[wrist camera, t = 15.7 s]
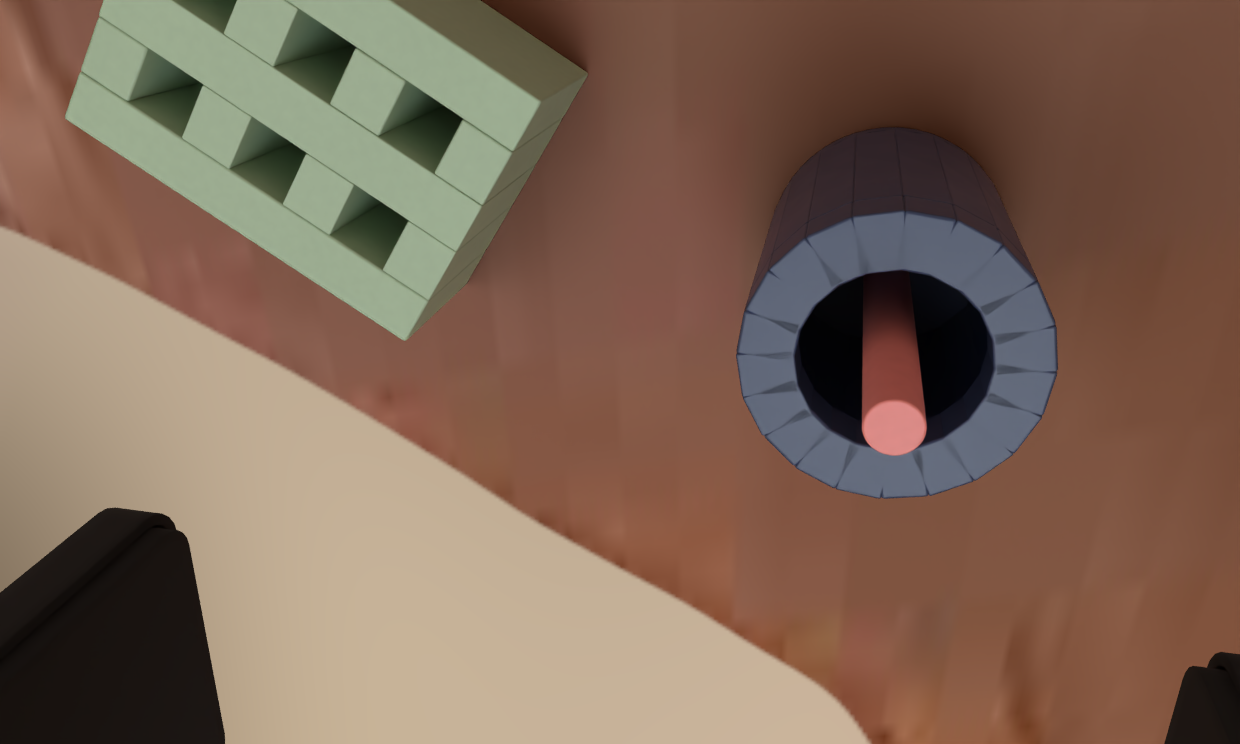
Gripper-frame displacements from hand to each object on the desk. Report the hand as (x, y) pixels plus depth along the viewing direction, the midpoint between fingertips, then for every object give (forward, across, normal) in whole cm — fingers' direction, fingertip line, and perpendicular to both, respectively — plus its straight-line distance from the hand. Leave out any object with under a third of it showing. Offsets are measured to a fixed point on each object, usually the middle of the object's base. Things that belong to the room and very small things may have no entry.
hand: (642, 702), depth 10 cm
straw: (+28, -3, +4) cm, 29 cm away
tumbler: (+29, -3, +4) cm, 29 cm away
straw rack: (+29, +16, 0) cm, 33 cm away
